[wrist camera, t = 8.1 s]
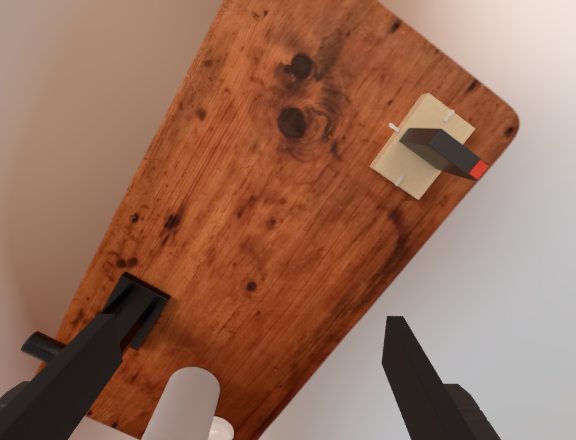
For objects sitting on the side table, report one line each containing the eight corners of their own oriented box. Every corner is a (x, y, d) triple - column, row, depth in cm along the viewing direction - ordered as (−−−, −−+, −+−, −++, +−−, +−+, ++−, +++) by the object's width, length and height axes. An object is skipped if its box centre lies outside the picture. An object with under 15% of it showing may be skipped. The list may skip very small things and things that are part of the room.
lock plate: (411, 85, 36) (418, 83, 34) (476, 135, 38) (487, 136, 36) (358, 160, 39) (362, 162, 37) (421, 203, 40) (428, 208, 38)
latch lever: (45, 325, 23) (23, 339, 21) (108, 356, 24) (93, 373, 21) (-59, 489, 23) (-94, 523, 20) (8, 515, 24) (-18, 551, 21)
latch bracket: (125, 271, 43) (-91, 465, 19) (171, 295, 44) (23, 510, 20) (97, 323, 46) (-128, 556, 21) (140, 345, 47) (-25, 591, 22)
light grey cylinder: (158, 393, 49) (119, 474, 38) (183, 358, 47) (150, 432, 36) (203, 416, 51) (179, 501, 39) (229, 382, 49) (211, 461, 37)
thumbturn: (398, 141, 36) (429, 145, 28) (408, 127, 36) (442, 128, 28) (437, 169, 37) (478, 182, 29) (448, 157, 37) (491, 165, 29)
